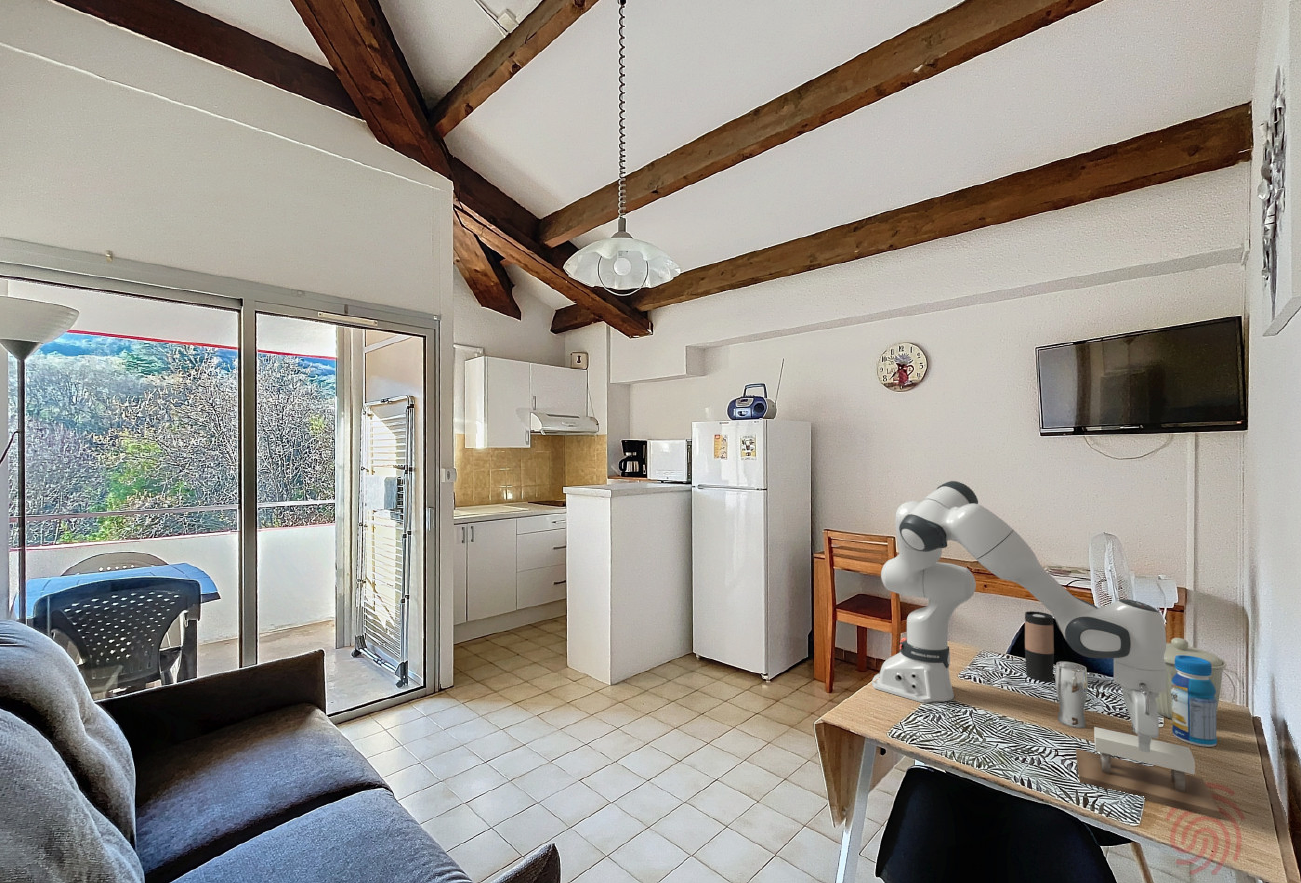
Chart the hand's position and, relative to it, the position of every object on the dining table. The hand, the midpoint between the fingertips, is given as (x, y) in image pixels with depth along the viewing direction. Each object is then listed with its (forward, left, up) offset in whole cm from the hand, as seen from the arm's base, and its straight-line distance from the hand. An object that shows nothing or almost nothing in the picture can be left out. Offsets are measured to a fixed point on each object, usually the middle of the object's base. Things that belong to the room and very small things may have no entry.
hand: (1140, 741), depth 125 cm
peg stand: (0, 0, -9) cm, 9 cm away
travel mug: (-18, +60, -9) cm, 63 cm away
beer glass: (-11, +27, -9) cm, 30 cm away
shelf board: (0, 0, -3) cm, 3 cm away
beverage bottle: (+14, +33, -9) cm, 37 cm away
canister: (+14, +49, -9) cm, 52 cm away
